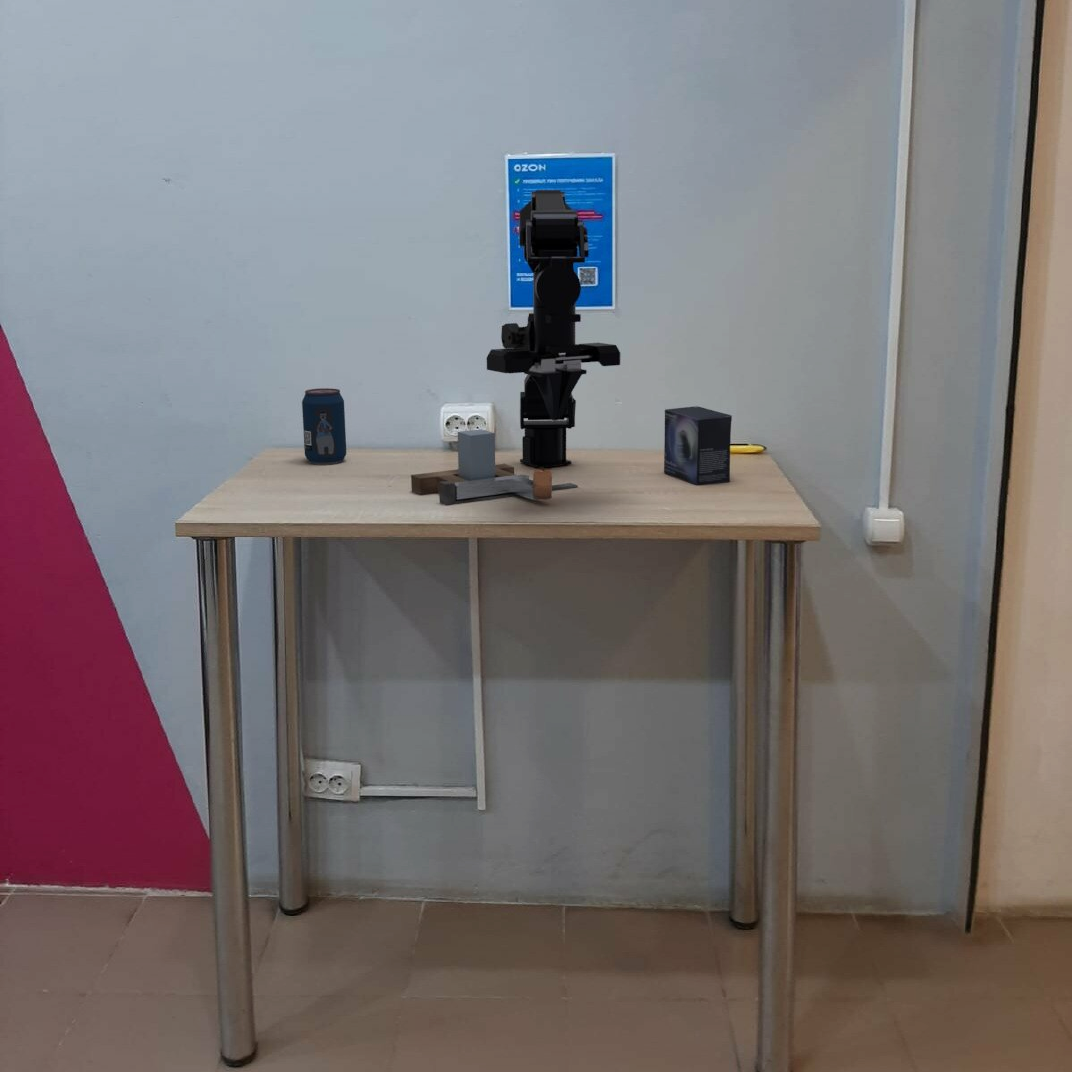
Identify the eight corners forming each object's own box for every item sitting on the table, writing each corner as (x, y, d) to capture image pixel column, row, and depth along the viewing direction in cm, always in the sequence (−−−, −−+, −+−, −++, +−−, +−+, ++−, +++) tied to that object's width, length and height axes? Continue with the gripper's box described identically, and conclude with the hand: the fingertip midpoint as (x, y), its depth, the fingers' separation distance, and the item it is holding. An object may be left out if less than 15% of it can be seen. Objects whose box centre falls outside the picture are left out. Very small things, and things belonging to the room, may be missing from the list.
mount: (540, 474, 186) (540, 456, 185) (577, 487, 177) (577, 467, 176) (411, 491, 175) (410, 471, 174) (444, 505, 166) (444, 484, 165)
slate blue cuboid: (482, 488, 177) (481, 429, 174) (495, 493, 173) (494, 433, 171) (458, 491, 174) (457, 431, 172) (471, 496, 171) (470, 435, 169)
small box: (660, 473, 187) (662, 408, 184) (695, 470, 189) (697, 405, 187) (694, 486, 178) (696, 417, 175) (731, 482, 180) (734, 414, 177)
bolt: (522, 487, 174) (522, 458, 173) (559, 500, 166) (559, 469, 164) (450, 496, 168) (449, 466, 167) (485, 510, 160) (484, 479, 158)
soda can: (332, 456, 202) (328, 386, 199) (354, 461, 198) (351, 390, 195) (297, 461, 198) (293, 390, 195) (319, 467, 193) (315, 394, 190)
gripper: (579, 301, 171) (578, 407, 175) (466, 306, 162) (468, 418, 166) (623, 305, 162) (622, 417, 166) (506, 310, 153) (508, 428, 157)
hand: (554, 419), depth 164 cm, fingers closed
